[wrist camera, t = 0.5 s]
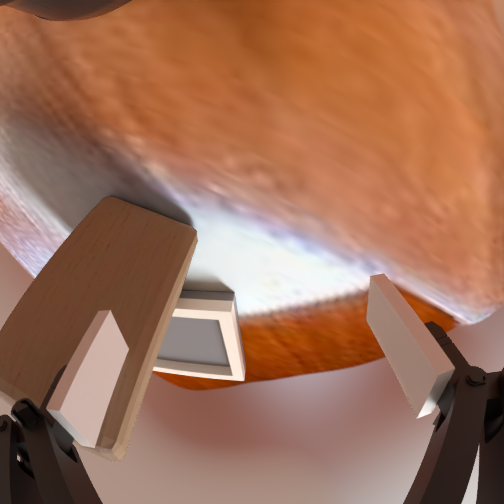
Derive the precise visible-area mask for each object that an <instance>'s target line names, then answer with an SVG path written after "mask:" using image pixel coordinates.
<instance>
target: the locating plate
mask: <svg viewBox="0 0 504 504" xmlns="http://www.w3.org/2000/svg"><path fill="white" fill-rule="evenodd" d="M245 369H246V363H245V357H244V351H243V344H242V338H241V331H240V325H239V318H238V312H237V305H236V299H235V293H234V292H209V291H189V290H182V291H181V294H180V297H179V299H178V302H177V304H176V307H175V310H174V312H173V315H172V318H171V320H170V323H169V326H168V328H167V331H166V334H165V337H164V339H163V342H162V345H161V348H160V350H159V353H158V356H157V359H156V362H155V365H154V367H153V370H154V371H160V372H166V373H173V374H180V375H188V376H196V377H205V378H214V379H225V380H238V381H244V377H245Z"/></svg>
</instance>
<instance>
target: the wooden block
mask: <svg viewBox="0 0 504 504" xmlns="http://www.w3.org/2000/svg"><path fill="white" fill-rule="evenodd" d="M197 242H198V240H197V231H196V230H195V229H194V228H193V227H191V226H189V225H186V224H184V223H181V222H179V221H176V220H173V219H171V218H168V217H165V216H163V215H160V214H158V213H155V212H152V211H150V210H147V209H145V208H142V207H139V206H137V205H134V204H131V203H129V202H126V201H124V200H121V199H118V198H116V197H105V198H103V199H102V200H101V201H100V202H99V203H98V204H97V205H96V206H95V207H94V209H93V210H92V211H91V212H90V213H89V214H88V215H87V216H86V217H85V218H84V219H83V221H82V222H81V223H80V224H79V225H78V226H77V227H76V228H75V230H74V231H73V232H72V233H71V234H70V235H69V237H68V238H67V239H66V240H65V241H64V242H63V244H62V245H61V246H60V247H59V249H58V250H57V251H56V252H55V253H54V255H53V256H52V257H51V258H50V260H49V261H48V262H47V264H46V265H45V266H44V267H43V269H42V270H41V271H40V273H39V274H38V275H37V277H36V278H35V279H34V281H33V282H32V284H31V285H30V286H29V288H28V289H27V291H26V292H25V293H24V295H23V297H22V298H21V299H20V301H19V302H18V304H17V305H16V307H15V309H14V310H13V311H12V313H11V314H10V316H9V318H8V319H7V321H6V322H5V324H4V326H3V327H2V329H1V331H0V397H1V398H2V399H3V400H4V401H5V402H7V403H8V404H9V405H10V406H12V407H13V405H14V404H15V403H16V402H17V401H18V400H20V399H22V398H29V399H30V400H31V401H32V402H33V403H34V404H35V405H36V406H37V408H38V409H39V408H40V406H41V404H42V402H43V400H44V398H45V396H46V394H47V392H48V390H49V388H51V387H50V386H51V384H52V382H54V378H55V377H56V375H57V373H58V371H59V370H60V369H61V368H62V367H63V366H64V365H68V363H69V362H70V360H71V358H72V356H73V354H74V352H75V351H76V349H77V347H78V345H79V344H80V342H81V340H82V338H83V336H84V335H85V333H86V331H87V330H88V328H89V326H90V325H91V323H92V321H93V319H94V318H95V316H96V315H97V313H98V311H104V310H111V312H112V315H113V317H114V319H115V321H116V323H117V326H118V328H119V330H120V332H121V334H122V336H123V338H124V340H125V342H126V344H127V346H128V348H129V350H128V353H127V355H126V358H125V361H124V363H123V366H122V369H121V371H120V374H119V377H118V379H117V382H116V385H115V388H114V390H113V393H112V396H111V399H110V402H109V405H108V408H107V411H106V414H105V417H104V420H103V423H102V426H101V429H100V432H99V435H98V439H97V442H96V445H95V448H92V447H87V446H82V445H80V444H79V443H78V442H77V441H76V440H75V439H74V440H73V443H72V444H74V445H76V446H78V447H80V448H83V449H85V450H87V451H89V452H91V453H93V454H95V455H98V456H100V457H102V458H105V459H107V460H110V461H121V460H122V458H123V457H124V456H125V455H126V452H127V448H128V445H129V442H130V438H131V435H132V432H133V428H134V425H135V422H136V419H137V416H138V412H139V409H140V406H141V403H142V400H143V397H144V394H145V391H146V388H147V385H148V382H149V379H150V376H151V373H152V370H153V367H154V365H155V362H156V359H157V356H158V353H159V350H160V348H161V345H162V342H163V339H164V337H165V334H166V331H167V328H168V326H169V323H170V320H171V318H172V315H173V312H174V310H175V307H176V304H177V302H178V299H179V297H180V294H181V291H182V288H183V284H184V281H185V278H186V275H187V272H188V269H189V266H190V263H191V259H192V256H193V253H194V250H195V247H196V244H197Z"/></svg>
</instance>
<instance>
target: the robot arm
mask: <svg viewBox="0 0 504 504" xmlns="http://www.w3.org/2000/svg"><path fill="white" fill-rule="evenodd" d="M129 1H131V0H0V6H2V5H5V6H8V7H12V8H15V9H18V10H21V11H24V12H27V13H30V14H33V15H35V16H37V17H39V18H42V19H45V20H51V21H71V20H83V19H89V18H93V17H97V16H100V15H103V14H106V13H108V12H110V11H113V10H115V9H117V8H119V7H121V6H122V5H124V4H126V3H128V2H129ZM366 321H367V323H368V324H369V326H370V328H371V330H372V332H373V333H374V335H375V337H376V339H377V341H378V343H379V345H380V346H381V348H382V350H383V352H384V354H385V356H386V358H387V360H388V361H389V363H390V365H391V367H392V369H393V371H394V373H395V375H396V377H397V379H398V381H399V383H400V385H401V387H402V389H403V391H404V393H405V395H406V397H407V399H408V401H409V403H410V405H411V407H412V410H413V412H414V414H415V416H416V418H419V417H422V416H425V415H427V414H430V413H432V412H433V411H434V409H435V407H436V405H438V406H439V408H440V410H441V411H440V413H439V414H438V416H437V417H436V419H435V421H434V423H433V425H435V428H434V430H433V434H432V436H431V439H430V442H429V445H428V448H427V450H426V453H425V456H424V459H423V461H422V463H421V466H420V468H419V471H418V473H417V475H416V477H415V480H414V482H413V484H412V486H411V489H410V491H409V493H408V495H407V497H406V499H405V501H404V503H403V504H461V503H462V500H463V497H464V494H465V492H466V489H467V486H468V483H469V480H470V476H471V473H472V470H473V466H474V462H475V458H476V455H477V451H478V446H480V448H479V477H478V490H477V500H476V504H504V368H503V369H502V371H499V372H492V373H486V372H485V371H484V370H482V369H481V368H479V367H476V366H470V365H469V364H468V363H467V361H466V360H465V358H464V357H463V355H462V354H461V353H460V351H459V350H458V349H457V347H456V346H455V345H454V343H452V341H451V339H450V338H449V337H447V334H446V333H445V331H444V330H443V329H442V328H441V327H440V326H439V325H437V324H435V323H434V322H432V321H431V322H428V323H425V324H424V323H423V322H422V321H421V319H420V318H419V317H418V316H417V314H416V313H415V312H414V310H413V309H412V308H411V306H410V305H409V304H408V303H407V301H406V300H405V299H404V298H403V296H402V295H401V294H400V292H399V291H398V290H397V289H396V288H395V286H394V285H393V284H392V283H391V281H390V280H389V279H388V278H387V276H386V275H385V274H379V275H374V276H370V287H369V298H368V308H367V317H366ZM128 350H129V348H128V346H127V344H126V342H125V340H124V338H123V336H122V334H121V332H120V330H119V328H118V326H117V323H116V321H115V319H114V317H113V315H112V312H111V310H104V311H98V313H97V315H96V316H95V318H94V319H93V321H92V323H91V325H90V326H89V328H88V330H87V331H86V333H85V335H84V336H83V338H82V340H81V342H80V344H79V345H78V347H77V349H76V351H75V352H74V354H73V356H72V358H71V360H70V362H69V363H68V365H64V366H63V367H62V368H61V369H60V370H59V371H58V373H57V375H56V377H55V378H54V382H52V384H51V386H50V387H51V388H49V390H48V392H47V394H46V396H45V398H44V400H43V402H42V404H41V406H40V408H39V409H38V408H37V406H36V405H35V404H34V403H33V402H32V401H31V400H30V399H29V398H22V399H20V400H18V401H17V402H16V403H15V404H14V405H13V407H12V410H11V415H12V416H13V418H14V419H15V420H16V422H15V421H13V420H12V419H11V418H10V417H9V416H8V415H2V416H0V504H103V503H102V502H101V500H100V498H99V496H98V494H97V492H96V490H95V488H94V487H93V484H92V483H91V481H90V479H89V477H88V474H87V473H86V470H85V468H84V466H83V464H82V461H81V459H80V457H79V454H78V452H77V450H76V448H75V446H74V445H73V444H72V443H73V440H74V439H75V440H76V441H77V442H78V443H79V444H80V445H82V446H87V447H92V448H95V445H96V442H97V439H98V435H99V432H100V429H101V426H102V423H103V420H104V417H105V414H106V411H107V408H108V405H109V402H110V399H111V396H112V393H113V390H114V388H115V385H116V382H117V379H118V377H119V374H120V371H121V369H122V366H123V363H124V361H125V358H126V355H127V353H128ZM17 455H19V456H20V462H19V461H18V460H17Z"/></svg>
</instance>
